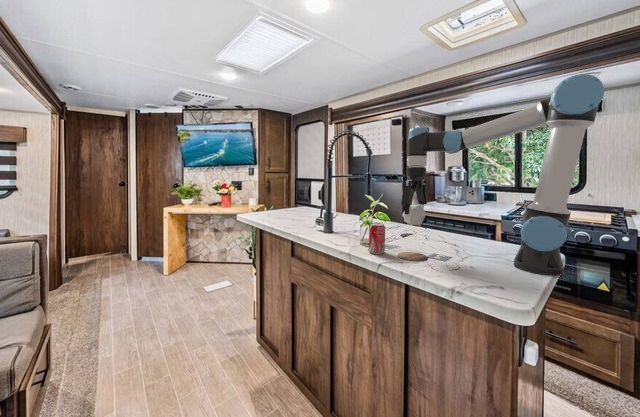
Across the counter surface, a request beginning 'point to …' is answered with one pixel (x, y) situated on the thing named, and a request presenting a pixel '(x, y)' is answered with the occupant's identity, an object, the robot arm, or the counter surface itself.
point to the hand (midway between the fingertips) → (413, 220)
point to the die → (416, 215)
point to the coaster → (412, 256)
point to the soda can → (377, 238)
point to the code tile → (439, 257)
